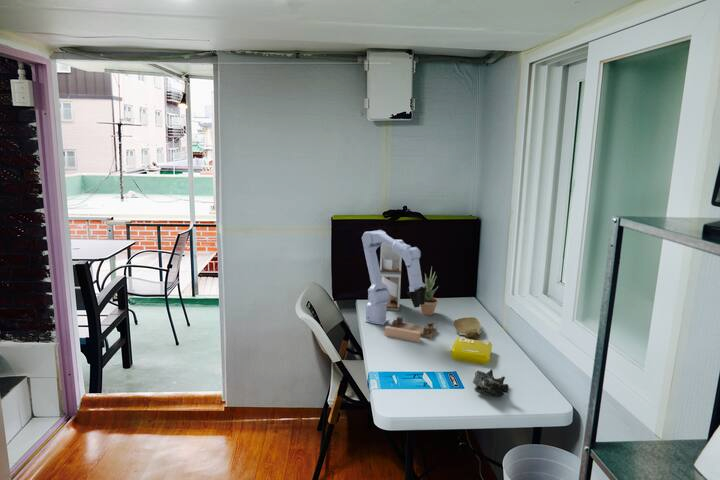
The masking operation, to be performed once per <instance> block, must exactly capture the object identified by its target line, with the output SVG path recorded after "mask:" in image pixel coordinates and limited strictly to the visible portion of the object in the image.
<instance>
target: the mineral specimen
mask: <svg viewBox="0 0 720 480" xmlns="http://www.w3.org/2000/svg"><path fill="white" fill-rule="evenodd" d="M493 371H494V369H492V368H490V369H489V371H487V372H486V373H485V372H484V371H481V370H476V371H475V373H474V377H473V381H472V383H473V384H474V385H475V387H474V391H475V392H479V393H484V394H486V395H487V396H497V397H503V395H505V394H508V393H509V390H510V387H509V386H510V385H509V384H507V383H504V382H505V379H506V377H505V376H501V377H499V378H495V376H494V372H493Z"/></svg>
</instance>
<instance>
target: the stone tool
mask: <svg viewBox="0 0 720 480" xmlns="http://www.w3.org/2000/svg"><path fill="white" fill-rule="evenodd" d="M453 325H454V326H455V328H456V333H457V334H458V335H460V336H465V337H464V338H466V339H472V340H479V338H480V337H481V335H480V334H481V333H482V327H481V323H480V321H479V320H478V318H477V317H474V316H472V317H469V316H468V317H461V318H458V319H455V320H454V321H453Z"/></svg>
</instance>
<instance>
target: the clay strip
mask: <svg viewBox="0 0 720 480" xmlns="http://www.w3.org/2000/svg"><path fill="white" fill-rule="evenodd" d="M384 336H385V337H391V338H395V339H402V340H405V341H411V342H416V343H420V342H421V340H422V339H421V338H422V337H421V332H418V331H413V330H407V329H402V328H396V327H391V325H390V326H389V325H386V326H385V327H384Z"/></svg>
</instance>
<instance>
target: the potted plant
mask: <svg viewBox="0 0 720 480" xmlns="http://www.w3.org/2000/svg"><path fill="white" fill-rule="evenodd" d="M432 270H433V266H431V269H430V274H429V277H428V276H427V274H426V273H425V272H424V277H425V278H424V282H423V284H425V286H424V287H423V288H425V287H426V288H427V290H426V293H425V304H422V305H420V308H421V309H420V310H421V314H423V315H426V316H431V315H434V313H435V310H436V307H437V305H438V303H439V300H438V298H436V297H434V294H435V292H436V291H437V290H438V288H439V285H438V286H436V288H434V289H433V287H434V285H435V283H436V282H435V281H436V279H437V277H438V276H437V275H436V276H435V274H436V271H434V273H433V275H432V272H433V271H432Z"/></svg>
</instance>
